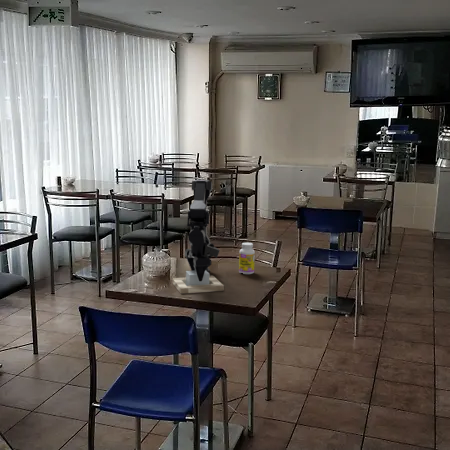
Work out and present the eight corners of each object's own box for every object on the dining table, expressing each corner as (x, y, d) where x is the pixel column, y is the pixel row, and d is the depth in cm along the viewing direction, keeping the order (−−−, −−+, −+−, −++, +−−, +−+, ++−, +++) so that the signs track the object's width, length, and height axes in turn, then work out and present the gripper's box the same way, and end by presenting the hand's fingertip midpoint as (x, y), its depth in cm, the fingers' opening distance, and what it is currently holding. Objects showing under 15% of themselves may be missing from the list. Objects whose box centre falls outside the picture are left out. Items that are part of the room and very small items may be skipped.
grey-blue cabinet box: (185, 285, 241) (185, 270, 240) (205, 284, 244) (205, 268, 242) (189, 289, 236) (189, 273, 234) (209, 288, 238) (209, 272, 237)
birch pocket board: (172, 283, 244) (172, 278, 244) (212, 280, 249) (213, 275, 249) (180, 293, 230) (180, 288, 230) (223, 290, 235) (223, 285, 234)
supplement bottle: (237, 274, 260) (237, 244, 257) (240, 270, 266) (241, 241, 264) (252, 275, 258) (253, 245, 256) (255, 271, 264) (256, 242, 262)
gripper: (224, 243, 230) (224, 283, 232) (211, 233, 247) (210, 271, 250) (196, 244, 226) (195, 285, 229) (184, 235, 244) (184, 272, 247)
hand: (197, 278), depth 239 cm, fingers open, 9 cm apart
